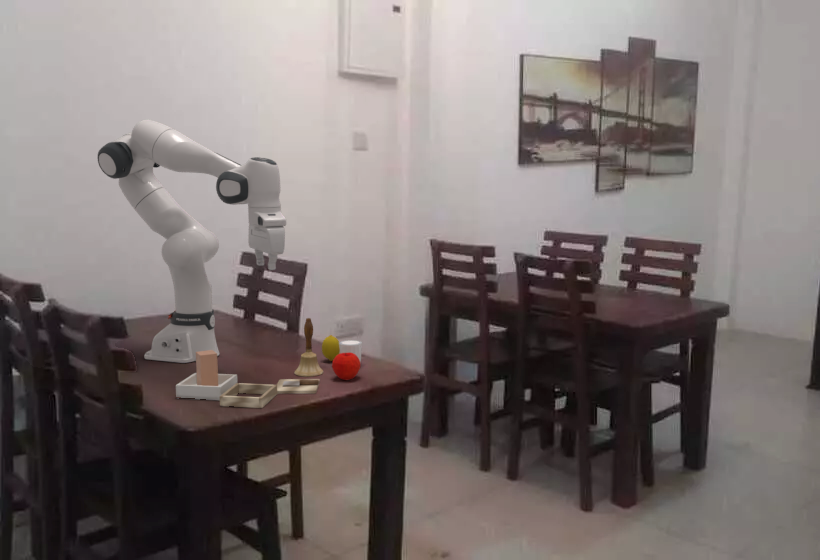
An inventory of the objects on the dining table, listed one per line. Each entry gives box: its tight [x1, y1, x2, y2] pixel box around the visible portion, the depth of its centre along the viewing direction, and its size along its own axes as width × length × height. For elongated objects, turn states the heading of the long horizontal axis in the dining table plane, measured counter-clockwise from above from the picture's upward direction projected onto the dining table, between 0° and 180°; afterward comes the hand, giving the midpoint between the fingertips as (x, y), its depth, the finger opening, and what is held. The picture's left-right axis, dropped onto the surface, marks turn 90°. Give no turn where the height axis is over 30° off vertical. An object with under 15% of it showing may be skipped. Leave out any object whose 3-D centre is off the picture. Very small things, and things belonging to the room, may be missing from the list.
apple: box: [331, 353, 361, 381], centre depth 233 cm, size 8×8×7 cm
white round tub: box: [339, 339, 363, 366], centre depth 247 cm, size 7×7×7 cm
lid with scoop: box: [276, 378, 321, 395], centre depth 224 cm, size 11×11×2 cm
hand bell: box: [294, 317, 324, 378], centre depth 238 cm, size 8×8×16 cm
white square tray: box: [175, 372, 238, 401], centre depth 219 cm, size 12×12×4 cm
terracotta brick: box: [195, 350, 219, 386], centre depth 219 cm, size 4×4×10 cm
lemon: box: [321, 334, 340, 362], centre depth 252 cm, size 6×6×8 cm
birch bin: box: [219, 382, 278, 409], centre depth 213 cm, size 11×12×2 cm
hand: (266, 267), depth 231 cm, fingers open, 8 cm apart
